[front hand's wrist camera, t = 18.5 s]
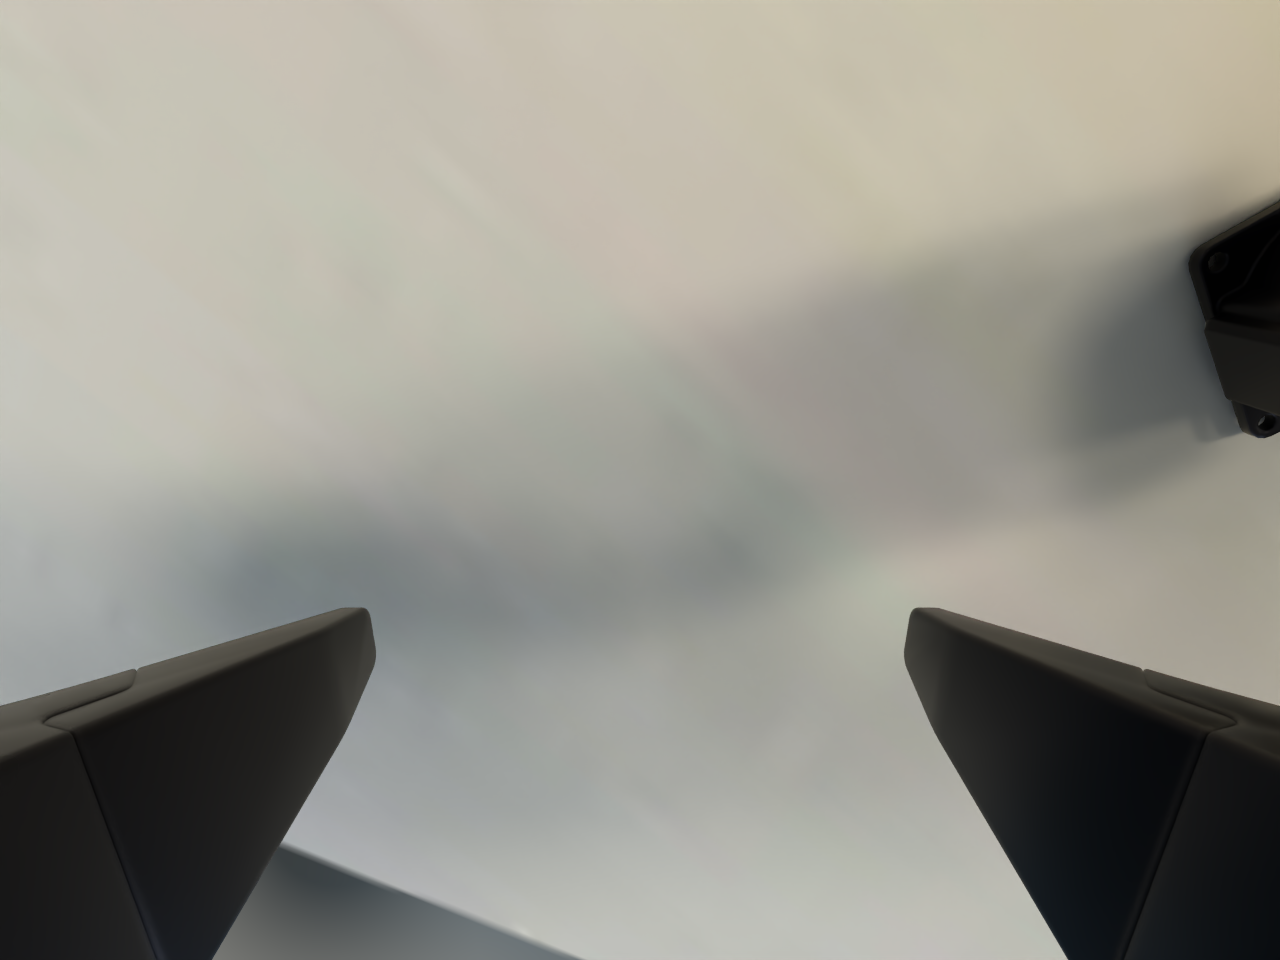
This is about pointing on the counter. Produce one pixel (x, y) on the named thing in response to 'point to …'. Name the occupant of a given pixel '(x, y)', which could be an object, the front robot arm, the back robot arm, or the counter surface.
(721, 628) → the counter surface
